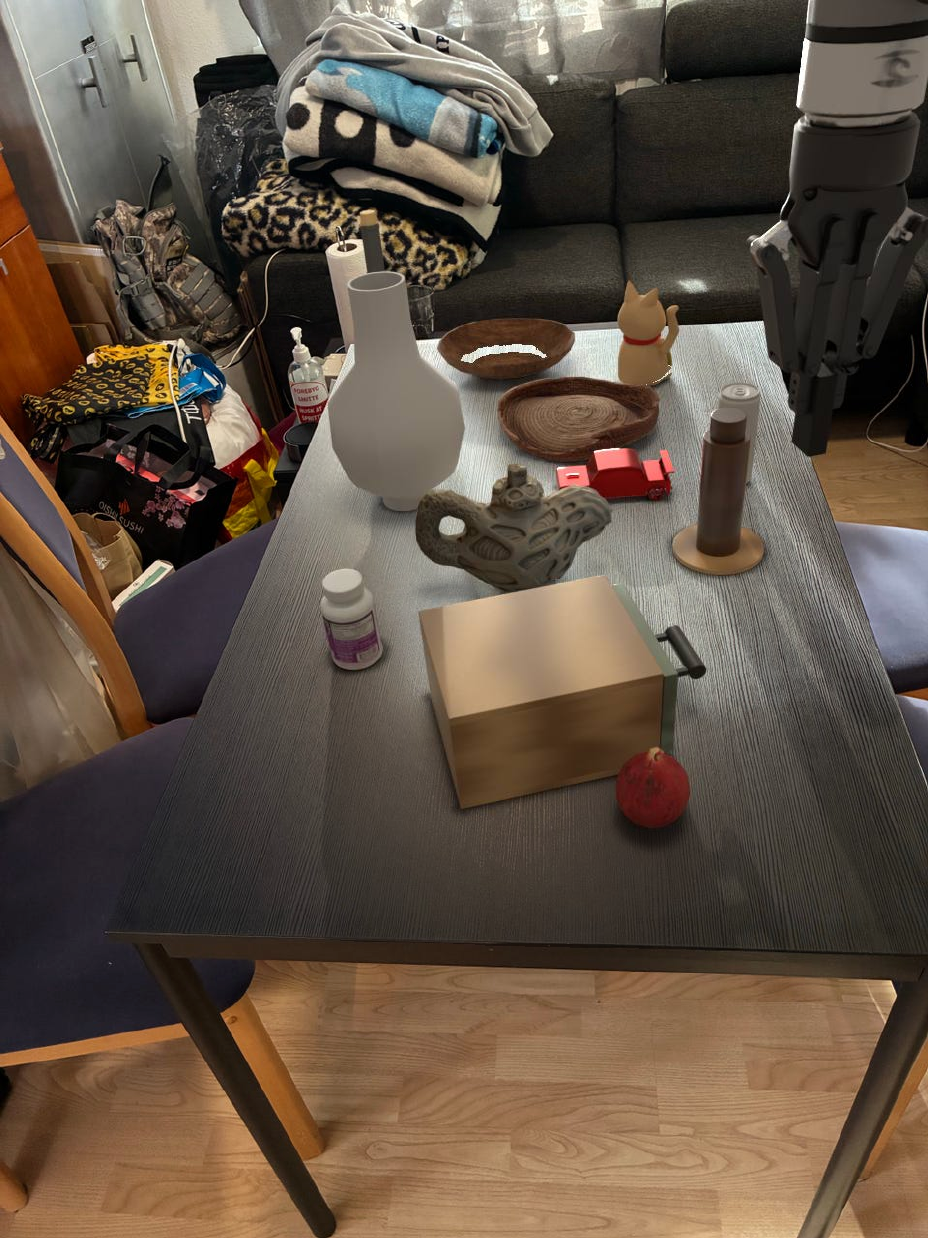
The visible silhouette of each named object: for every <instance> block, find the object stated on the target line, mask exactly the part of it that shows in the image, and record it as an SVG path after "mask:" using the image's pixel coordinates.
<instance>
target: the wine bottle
mask: <svg viewBox="0 0 928 1238" xmlns="http://www.w3.org/2000/svg"><path fill="white" fill-rule="evenodd" d="M376 214H377V213H376V210H374V209H366V210H362V211H360V212H359V218H360V223H359V229H360V232H361V234H360V235H361V240H362V247H363V253H364V260H365V267H366V273H365V274H367V273H373V272H383V271H386V270H385V263H384V257H383V256H384V255H383V249H382V248H383V247H382V241H381V233H380V223H379V221H378V220H377V215H376ZM410 320H411V324H412V325H413V323H412V319H411V318H410Z"/></svg>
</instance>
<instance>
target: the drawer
mask: <svg viewBox="0 0 928 1238" xmlns="http://www.w3.org/2000/svg"><path fill="white" fill-rule="evenodd" d="M611 585H612V587H613V589H614V590H615V592H616V594H617V595H618V597H619V599H620V601H621V602H622V604H623V606H624V607H625V609H626V611H627V612H628V614H629V616H630V618H631V619H632V621H633V623H634V624H635V626H636V628H637V629H638V631H639V633H640V635H641V636H642V638H643V640H644V641H645V643H646V645H647V646H648V648H649V650H650V652H651V653H652V655H653V657H654V658H655V660H656V662H657V663H658V665H659V667H660V669H661V670H662V672H663V674H664V676H663V693H662V712H661V731H660V748H661V749H662V750H663V751H664V753H666V752H671V751H673V750H674V744H675V743H674V742H675V728H676V727H675V725H676V711H677V696H678V683H679V682H678V681H679V678H681V677H687V676H689V678H690V679H693V680H699V679H701V678H703V677H704V676H706V674H707V667H706V665H705V664H704V662H703V661H702V659H701V657H700V656H699V654H698V653H697V651H696V649H695V648H694V646H693V645H692V644H691V642H690V641H689V639H688V637H687V636H686V634H685V633H684V631H683V630H682V628H681V627H680V626H679V625H677V624H673V625H669V626H668V627H667V628H666V629H665V630H664V632H660V633H654V632H653V630H652V629H651V627H650V624H649V623H648V621H647V620H646V619H645V617H644V615H643V614H642V611H641V610H640V609H639V607H638V605H637V604H636V603H635V600H634V599H633V597H632V596H631V594H630V592H629V591H628V588H627V587H626V586H625V583H623V582H621V583H615V584H611ZM664 642H667V643H668V645H670V647H671V649H672V650H673V652H674V653H675V655H676V657H677V658H678V660H679V662H680V663H681V665H682V667H681V666H680V667H677V668H675V666H674V665H673V663H672V661H671V659H670V657H669V656H668V655H667V653H666V651H665V650H664V649H663V646H662V645H661V644H660V643H664Z"/></svg>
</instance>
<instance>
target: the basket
mask: <svg viewBox="0 0 928 1238" xmlns="http://www.w3.org/2000/svg"><path fill="white" fill-rule="evenodd" d="M660 399H661V398H660V396H659V394H658V393H657V392H656V391H655V389H654V388H653V387H652V386H646V385H642V384H641V385H634V384H625V383H622V382H616V381H611V380H606V379H599V378H593V377H588V376H587V377H586V376H561V377H558V378H556V377H555V378H554V377H547V378H539V379H534V380H531V381H528V382H526V383H521V384H518V385H515V386H513V387H512V388H510V389H509V390H507V391H505V393H503V394H502V396H501V397H500V398H499V399H498V401H497V407H496V413H497V419H498V422H499V426H500V428H501V430H502V431H503V433H504V435H505V436H506V437H507V438H508V439H509V440H510V441H511V442H512V443H513V444H514V445H515V446H517V447H518V448H519V449H521V450H522V451H523V452H526V453H528V454H530V455H533V456H535V457H538V458H539V459H543V460H550V461H553V462H555V463H569V462H580V461H585V460H589V459H590V458H591V456H592V454H593V453H594V452H595V451H600V450H606V449H619V448H623V447H625V446H628V445H630V444H632V443H634V442H637V441H638V440H641V439H642V438H644V437H645V436H646V437H647V436H648V435H649V434H650V432H652V431H653V430H654V428H655V427H656V426H657V423H658V420H659V416H660V402H661V401H660Z"/></svg>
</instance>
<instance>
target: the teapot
mask: <svg viewBox="0 0 928 1238" xmlns="http://www.w3.org/2000/svg"><path fill="white" fill-rule="evenodd" d="M506 472H507V473H506V474H507V475H506V476H504V477H501V478H498V479H496V481H495V482H494V483H493V485H492V490H491V499H490V501H489V502H487V503H486V502H480V501H476V500H474V499H472V498H469V497H468V496H466V495H463V494H459V493H457V492H455V491H454V490H453V489H443V488H442V489H441V488H439V489H432V490H431V491H430V492H428V493H427V494H426V495H425V496H424V497H423V498H422V499H421V500H420V502H419V505H418V508H417V509H416V513H415V519H414V530H415V531H414V532H415V533H414V534H415V542H416V544H417V546H418V548H419V550H420V551H421V552H422V554H423V555H424V556H425V557H426V558H428V560H430V561H431V562H432V563H434V564H436V565H439V566H444V567H453V568H456V569H459V570H463V571H464V572H467V573H468V574H470V575H471V576H473V577H475V578H476V579H478V580H480V581H481V582H483V583H485V584H487V585H489V586H492V587H493V588H495V589H496V590H497V591H501V592H505V593H513V592H518V591H523V590H529V589H534V588H539V587H544V586H549V585H554V584H555V581H556V580H561V579H562V578H563V577H564V576H565V575H566V573H567V572H568V571H569V570H570V568H571V567H572V565H573V563H574V560H575V557H576V554H577V551H578V549H579V548H580V547H581V546H582V544H584V543H586V542H589V541H591V540H592V539H594V538H596V537H598V536H599V535H601V533H602V532H603V531H604V530H605V528H606V527H607V526H608V525H609V524H611V523H612V511H613V508H612V506H611V505H610V503H609V502H608V500H607V498H603V497H601V496H600V495H599V493H598V492H597V491H596V490H594V489H591V488H589V487H587V486H578V485H576V484H573V485H571V486H569V487H566V488H562V489H561V490H559V491H558V490H557V491H556V492H553V493H552V494H549V495H545V490H544V488H543V487H544V486H543V484H542V483H541V482H540V481H539V479H538V478H536V477H534V476H532V475H530V474H528V467H527V466H526V465H520V464H519V463H511V464H507V468H506ZM447 517H450V518H454V519H457V520H460V521H462V522H463V524H464V526H463V529H462V531H461V532H459V533H453V534H445V533H443V532H441V531H440V525H441V522H442V520H443V519H444V518H447Z"/></svg>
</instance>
